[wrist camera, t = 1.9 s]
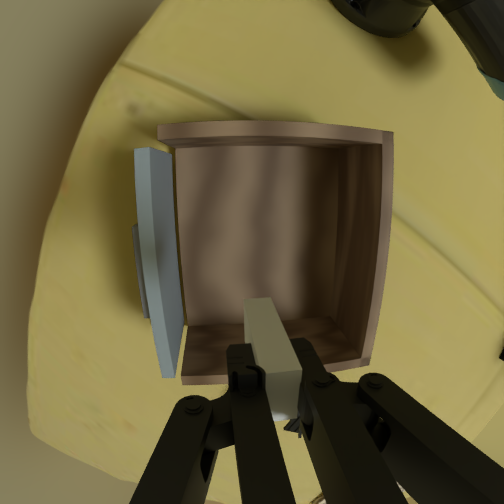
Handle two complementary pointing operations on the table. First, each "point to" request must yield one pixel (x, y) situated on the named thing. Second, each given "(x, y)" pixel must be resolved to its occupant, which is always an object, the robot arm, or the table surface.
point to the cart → (281, 235)
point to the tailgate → (158, 254)
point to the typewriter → (502, 355)
